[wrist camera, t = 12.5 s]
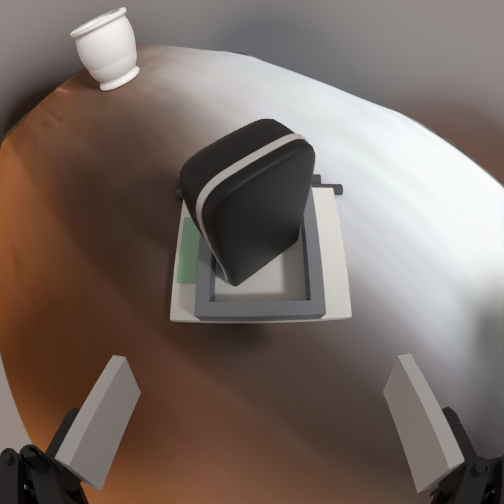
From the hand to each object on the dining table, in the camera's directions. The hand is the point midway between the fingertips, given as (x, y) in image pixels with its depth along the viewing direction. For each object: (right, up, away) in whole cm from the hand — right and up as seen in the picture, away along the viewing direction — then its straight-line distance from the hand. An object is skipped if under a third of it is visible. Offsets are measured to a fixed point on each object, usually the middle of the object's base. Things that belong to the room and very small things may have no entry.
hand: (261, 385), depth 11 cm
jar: (-26, +39, +28) cm, 55 cm away
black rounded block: (0, +6, +11) cm, 13 cm away
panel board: (0, +6, +12) cm, 13 cm away
